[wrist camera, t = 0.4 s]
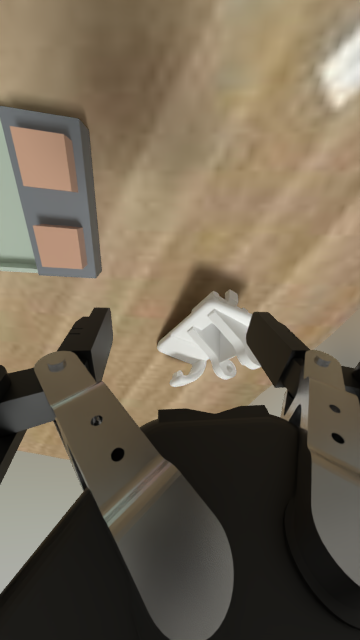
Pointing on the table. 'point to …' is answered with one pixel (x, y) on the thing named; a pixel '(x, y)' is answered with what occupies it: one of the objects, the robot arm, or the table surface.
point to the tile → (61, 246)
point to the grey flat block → (56, 203)
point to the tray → (12, 220)
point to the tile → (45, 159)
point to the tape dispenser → (210, 338)
